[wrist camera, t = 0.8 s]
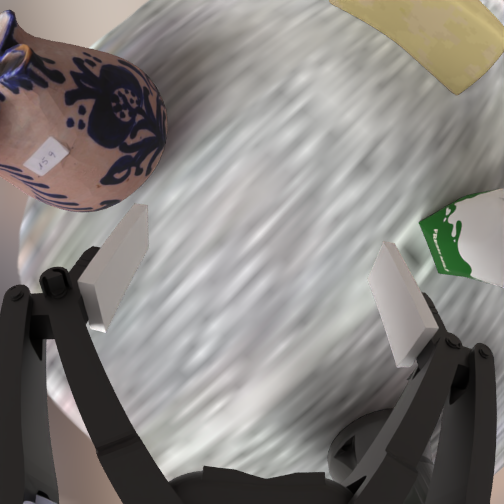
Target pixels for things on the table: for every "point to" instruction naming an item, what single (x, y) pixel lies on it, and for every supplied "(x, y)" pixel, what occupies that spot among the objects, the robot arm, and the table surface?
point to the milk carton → (469, 237)
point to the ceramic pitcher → (75, 121)
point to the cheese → (438, 34)
